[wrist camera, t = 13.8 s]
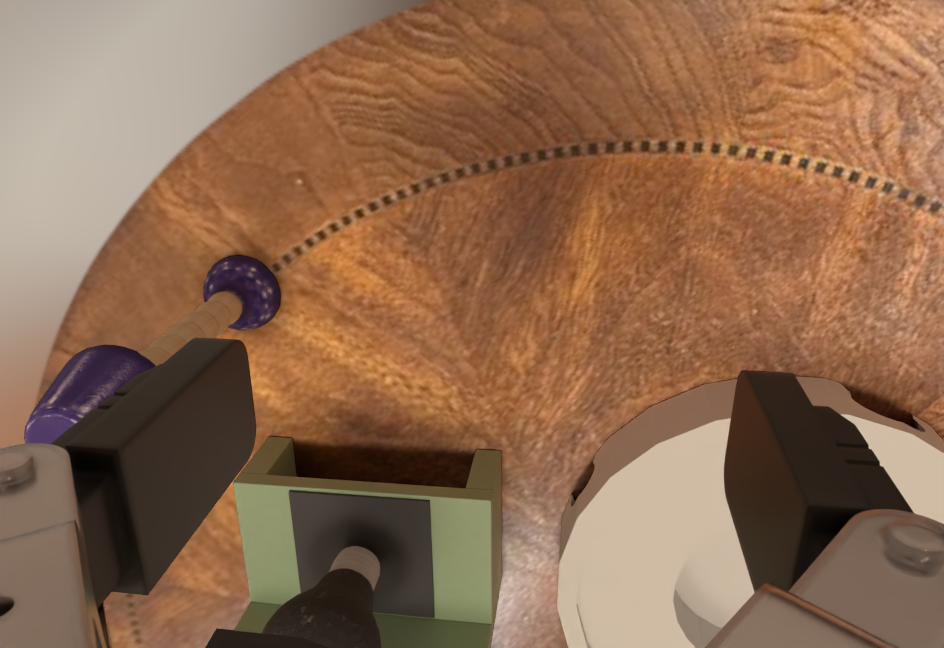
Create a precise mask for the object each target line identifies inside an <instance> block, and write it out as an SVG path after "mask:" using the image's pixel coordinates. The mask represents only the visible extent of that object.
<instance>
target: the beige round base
mask: <svg viewBox="0 0 944 648" xmlns="http://www.w3.org/2000/svg"><path fill="white" fill-rule="evenodd" d="M796 378H797V380H798V381H799V383H800V385H801V386H802V388H803V390H804V391H805V393H806V395H807V397H808V398H809V400H810V402H811V403H812V405H813V406H829V407H830V408H832V409H833V410H835V411H836V412H838V413H839V414H840V415H842V416H843V417H845V418H846V419H848V420H849V421H850V422H852V423H853V424H855V425H856V427H857V428H858V430H859V431H860V433H861V434H862V436H863V437H864V439H865V440H866V442H867V443H868V445H869V449H872V451H873V452H874V454H875V455H876V457H877V458H878V460H879V461H880V466H883V467H884V469H885V470H886V472H887V473H888V475H889V476H890V478H891V479H892V481H893V482H894V484H895V485H896V487H897V488H898V490H899V491H900V493H901V494H902V496H903V497H904V499H905V500H906V502H907V503H908V505H909V506H910V508H911V509H912V511H913V512H914V513H915V514H918V515H922V516H925V517H928V518H930V519H933V520H936V521H938V522H940V523H942V524H944V441H943V440H942V439H941V437H940V436H939V435H938V434H937V433H936V432H935V431H934V430H933V428H932V427H931V426H930V425H929V424H927V423H925V422H924V421H922V420H921V419H919V418H917V417H916V416H914V415H913V419H914V423H915V427H916V429H914V428H912V427H910V426H908V425H907V424H905V423H903V422H899V421H895V420H892V419H890V418H887V417H884V416H881V415H879V414H877V413H875V412H873V411H871V410H868V409H866V408H865V407H863V406H862V405H860V404H858V403H857V402H855V401H854V400H853V399H852V398H851V394H850V391H849V390H848V389H846V388H845V387H844V386H843V385H842V384H840V383H839V382H836V381H832V380H829V379H826V378H815V377H798V376H796ZM736 383H737V379H733V380H727V381H721V382H715V383H709V384H704V385H701V386H699V387H696V388H694V389H691V390H689V391H687V392H684V393H682V394H679V395H677V396H675V397H672V398H670V399H667V400H665V401H663V402H660V403H658V404H655V405H653V406H651V407H649V408H648V409H647V410H645V411H644V412H643V413H641V414H640V415H639V416H637V417H636V418H635V419H633V420H632V421H630V422H629V423H628V424H626V425H625V426H624V427H622V428H621V429H620V430H618V431H617V432H616V433H614V434H613V435H612V436H610V437H609V438H608V439H607V440H606V441H605V443H604V444H603V445H602V446H601V448H600V449H599V450H598V452H597V453H596V454H595V457H594V461H593V463H594V466H595V468H594V471H593V474H592V476H591V478H590V480H589V482H588V484H587V485H586V487H585V489H584V490H583V491H582V493H581V494H580V495H579V496H578V498H577V500H576V502H575V501H574V498H573V496H572V494H571V496H570V498H569V501H568V504H567V506H566V509H565V511H564V514H563V517H562V526H561V545H560V563H559V582H558V600H557V608H558V612H559V616H560V619H561V623H562V627H563V630H564V634H565V638H566V641H567V645H568V648H705V647H706V645H707V644H708V643H709V642H710V641H711V640H712V639H713V638H714V637H715V636H716V635H717V633H718V632H719V631H720V630H721V629H722V628H723V627H724V626H725V625H726V624H727V622H728V621H729V620H730V619H731V618H732V617H733V616H734V615H735V614H736V613H737V612H738V610H739V609H740V608H741V607H742V606H743V605H744V604H745V603H746V602H747V601H748V599H749V598H750V597H751V596H752V595H753V594H754V590H753V586H752V583H751V580H750V576H749V573H748V570H747V566H746V563H745V560H744V556H743V553H742V550H741V546H740V543H739V540H738V536H737V533H736V530H735V526H734V523H733V520H732V516H731V513H730V510H729V506H728V503H727V500H726V495H725V488H724V461H725V454H726V447H727V440H728V434H729V427H730V421H731V414H732V408H733V401H734V395H735V388H736Z"/></svg>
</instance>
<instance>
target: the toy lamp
mask: <svg viewBox="0 0 944 648" xmlns="http://www.w3.org/2000/svg"><path fill="white" fill-rule="evenodd" d="M203 296H204V301H205V303H202V304H201V305H199V306H198V307H197V308H196V309H195V311H194V312H191V313H189V314H187V315H186V316H185V317H183V318H182V320H181V321H180V323H177V324H174V325H173V326H171V327H170V328H169V329H168V330H167V331H166V332H165V333H164V335H163V336H160V337H158V338H156V339H155V340H153V341H152V342H151V343H150V344H149V345H148V347H147V349H144V350H141V351H139V352H137V351H135V350H132V349H129V348H126V347H121V346H117V345H98V346H94V347H90V348H87V349H85V350H83V351H81V352H79V353H78V354H76V355H75V356H73V357H72V358H71V359H70V360H69V361H68V362H67V363H66V365H65V366H64V367H63V369H62V370H61V371H60V373H59V374H58V375H57V377H56V378H55V380H54V381H53V383H52V384H51V385H50V387H49V388H48V390H47V391H46V393H45V394H44V395H43V397H42V398H41V400H40V401H39V403H38V404H37V406H36V407H35V409H34V410H33V412H32V413H31V415H30V417H29V419H28V421H27V423H26V426H25V436H24V439H25V444H29V443H45V444H51V443H52V442H53V441H55V440H56V439H57V438H58V437H60V436H61V435H62V434H63V433H65V432H66V431H67V430H68V429H69V428H71V427H72V426H73V425H74V424H76V423H77V422H78V421H79V420H81V419H82V418H83V417H84V416H85V415H87V414H88V413H89V412H90V411H92V410H93V409H98V405H99V404H100V403H101V402H103V401H104V400H105V399H106V398H108V397H109V396H110V395H112V396H114V392H115V391H116V390H117V389H119V388H120V387H121V386H122V385H124V384H125V383H126V382H127V381H129V380H130V379H131V378H132V377H133V376H136V375H138V374H140V373H142V372H144V371H147V370H149V369H151V368H153V367H155V366H158V365H160V364H162V363H164V362H165V361H166V360H168V359H169V358H170V357H171V356H172V355H174V354H175V353H176V352H177V351H178V350H180V349H181V348H182V347H183V346H184V345H186V344H187V343H188V342H189V341H190V340H192V339H193V338H196V337H198V338H215V339H216V337H217V336H219V335H221V334H222V333H223V332H225V331H226V329H227V328H228V327H229V328H232V329H236V330H251V329H255V328H258V327H261V326H263V325H265V324H266V323H268V322H269V321H270V320H271V319H272V318H273V317H274V316H275V314H276V312H277V310H278V307H279V305H280V290H279V286H278V284H277V281H276V279H275V277H274V275H273V274H272V273H271V272H270V270H269V269H268V268H267V267H266V266H264V265H263V264H262V263H260V262H259V261H257V260H255V259H252V258H249V257H246V256H229V257H226V258H224V259H222V260H220V261H218V262H217V263H216V264H215V265H214V266H213V267H212V268H211V269H210V271H209V272H208V274H207V276H206V279H205V282H204V286H203Z"/></svg>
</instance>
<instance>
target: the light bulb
mask: <svg viewBox="0 0 944 648" xmlns="http://www.w3.org/2000/svg"><path fill="white" fill-rule="evenodd" d="M379 575H380V563H379V561H378V559H377V557H376V556H375V555H374V554H373V553H372V552H371V551H369V550H367V549H366V548H363V547H359V546H351V547H347V548H345V549H343V550H342V551H341V552H340V553H339V554H338V556H337V557H336V559H335V560H334V562H333V564H332V566H331V569H330V571H329V573H328V574H326V575H325V576H324V577H323V578H322V579H321V580H320V582H319V583H318V584H317V585H316V586H315V587H313V588H311V589H309V590H307V591H305V592H302V593H300V594H298V595H296V596H295V597H293V598H292V599H290V600H289V601H287V602H286V603H284V604H283V605H282V606H281V607H280V608H279V609H278V610H277V611H276V612H275V613H274V614H273V616H272V617H271V618H270V620H269V621H268V622H267V624H266V625H265V627H264V629H263V631H262V633H263V634H272V635H282V636H291V637H300V638H304V639H307V640H310V641H313V642H316V643H318V644H321V645H324V646H327V647H330V648H381V638H380V632H379V629H378V626H377V623H376V620H375V617H374V615H373V611H372V607H373V600H374V595H373V591H374V588H375V586H376V583H377V580H378V578H379Z"/></svg>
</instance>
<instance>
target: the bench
mask: <svg viewBox="0 0 944 648" xmlns="http://www.w3.org/2000/svg"><path fill="white" fill-rule="evenodd" d="M233 488H234V494H235V501H236V507H237V514H238V520H239V527H240V534H241V540H242V547H243V553H244V560H245V566H246V573H247V579H248V586H249V593H250V599H251V603H250V604H249V606H248V607H247V609H246V611H245V612H244V614H243V616H242V618H241V619H240V621H239V623H238V624H237V626H236V628H235V629H234V630H235V631H244V632H254V633H262V631H263V629H264V627H265V625H266V624H267V622H268V621H269V620H270V618H271V617H272V616H273V614H274V613H275V612H276V611H277V610H278V609H279V608H280V607H281V606H282V605H283V604H284V603H286V602H287V601H289V600H290V599H292V598H293V597H295V596H296V595H298V594H300V593H302V592H305V591H307V590H309V589H311V588H313V587H315V586H316V585H317V584H318V583H319V582H320V580H321V579H322V578H323V577H324V576H325V575H326V574H328V573H329V571H330V569H331V566H332V564H333V562H334V560H335V559H336V557H337V556H338V554H339V553H340V552H341V551H342V550H343V549H345V548H347V547H351V546H359V547H363V548H366V549H367V550H369V551H371V552H372V553H373V554H374V555H375V556H376V557H377V559H378V561H379V563H380V575H379V578H378V580H377V583H376V586H375V588H374V591H373V595H374V600H373V607H372V611H373V615H374V617H375V620H376V623H377V626H378V629H379V632H380V638H381V648H491V642H492V636H493V629H494V623H495V617H496V610H497V604H498V598H499V591H500V585H501V578H502V452H501V451H495V450H478V449H477V450H476V451H475V455H474V458H473V462H472V466H471V470H470V474H469V477H468V481H467V485H466V488H452V487H437V486H422V485H408V484H393V483H379V482H364V481H350V480H335V479H320V478H306V477H297V475H296V467H295V458H294V449H293V441H292V438H284V437H268V438H267V439H266V441H265V442H264V443H263V445H262V446H261V447H260V448H259V450H258V451H257V452H256V454H255V455H254V456H253V457H252V459H251V460H250V461H249V462H248V464H247V465H246V466H245V468H244V469H243V470H242V471H241V473H240V474H239V475H238V477H237V478H236V479H235V480H234V482H233Z"/></svg>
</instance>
